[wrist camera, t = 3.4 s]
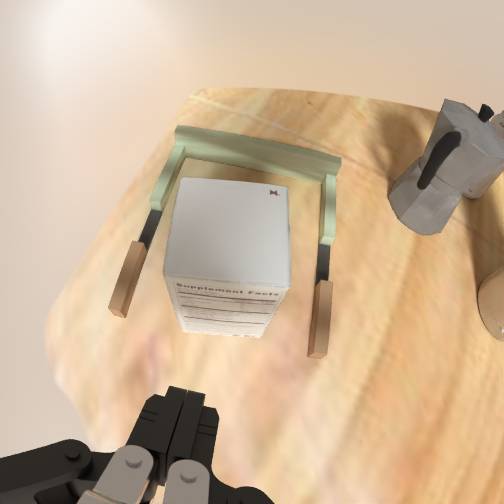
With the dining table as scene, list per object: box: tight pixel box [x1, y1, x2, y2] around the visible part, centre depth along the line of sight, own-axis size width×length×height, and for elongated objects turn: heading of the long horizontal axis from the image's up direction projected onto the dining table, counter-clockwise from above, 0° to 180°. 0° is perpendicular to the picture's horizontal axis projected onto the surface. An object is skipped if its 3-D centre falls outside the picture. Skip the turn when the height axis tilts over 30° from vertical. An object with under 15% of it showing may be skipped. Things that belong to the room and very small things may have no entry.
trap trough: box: [108, 125, 341, 359], centre depth 32 cm, size 22×19×4 cm
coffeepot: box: [388, 99, 504, 235], centre depth 31 cm, size 15×9×18 cm, turn 123°
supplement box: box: [163, 177, 291, 338], centre depth 25 cm, size 7×7×13 cm
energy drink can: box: [462, 111, 504, 199], centre depth 37 cm, size 6×6×15 cm
